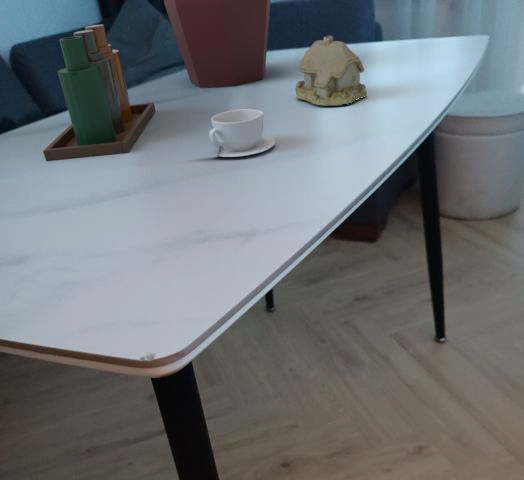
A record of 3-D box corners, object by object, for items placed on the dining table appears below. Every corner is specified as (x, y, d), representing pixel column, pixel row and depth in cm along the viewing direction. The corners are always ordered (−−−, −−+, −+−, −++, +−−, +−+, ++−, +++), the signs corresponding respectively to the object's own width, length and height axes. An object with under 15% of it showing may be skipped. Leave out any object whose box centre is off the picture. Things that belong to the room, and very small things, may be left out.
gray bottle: (85, 138, 97) (58, 36, 89) (94, 128, 102) (69, 31, 94) (121, 134, 97) (97, 31, 88) (128, 125, 102) (106, 26, 93)
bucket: (302, 72, 130) (294, -68, 116) (230, 95, 117) (211, -58, 103) (225, 67, 145) (210, -57, 130) (154, 87, 132) (129, -48, 118)
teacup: (245, 135, 92) (241, 103, 89) (289, 145, 86) (286, 111, 83) (193, 153, 87) (187, 120, 84) (236, 164, 80) (231, 129, 78)
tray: (47, 166, 89) (42, 150, 88) (89, 122, 110) (86, 109, 109) (129, 158, 88) (126, 142, 87) (156, 115, 109) (153, 102, 108)
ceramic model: (380, 95, 105) (381, 31, 99) (335, 110, 99) (333, 43, 94) (324, 88, 114) (321, 29, 108) (280, 101, 109) (275, 40, 103)
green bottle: (74, 151, 92) (44, 43, 83) (84, 140, 96) (56, 37, 88) (112, 147, 91) (86, 38, 83) (120, 136, 96) (96, 32, 88)
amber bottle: (96, 127, 103) (71, 30, 95) (103, 118, 108) (81, 25, 100) (129, 123, 103) (108, 26, 94) (136, 115, 108) (116, 21, 99)
